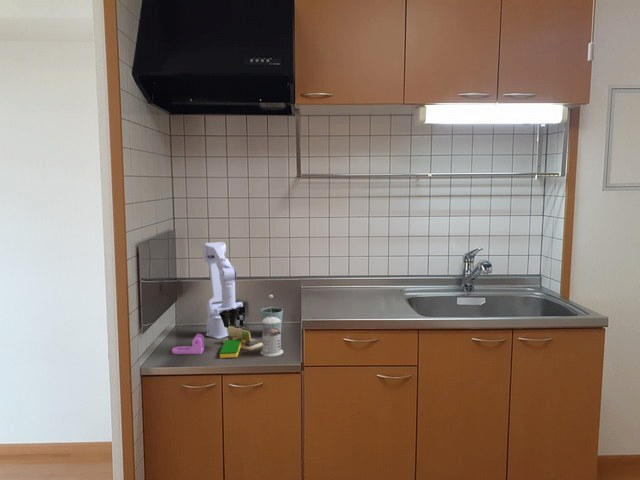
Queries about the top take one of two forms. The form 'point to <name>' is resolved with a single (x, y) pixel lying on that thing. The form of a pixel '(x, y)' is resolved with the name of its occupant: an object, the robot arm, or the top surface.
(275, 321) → the french press
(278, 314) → the drinking glass
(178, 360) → the top surface
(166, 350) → the top surface
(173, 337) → the top surface
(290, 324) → the top surface
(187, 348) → the bracket
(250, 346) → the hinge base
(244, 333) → the strip
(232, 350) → the dish sponge
